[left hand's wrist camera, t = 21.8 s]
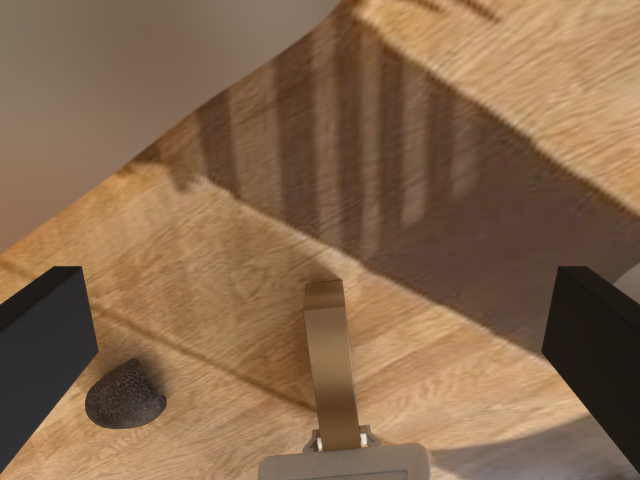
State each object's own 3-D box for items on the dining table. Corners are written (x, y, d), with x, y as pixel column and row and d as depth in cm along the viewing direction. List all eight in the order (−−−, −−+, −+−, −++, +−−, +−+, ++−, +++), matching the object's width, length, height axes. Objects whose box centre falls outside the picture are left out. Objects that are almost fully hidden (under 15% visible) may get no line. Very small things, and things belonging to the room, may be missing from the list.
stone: (181, 360, 65) (133, 350, 57) (181, 423, 62) (129, 422, 53) (125, 373, 68) (71, 365, 59) (122, 434, 64) (64, 434, 56)
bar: (305, 283, 57) (302, 310, 49) (342, 279, 57) (345, 306, 49) (326, 439, 64) (327, 485, 56) (359, 436, 63) (364, 482, 56)
